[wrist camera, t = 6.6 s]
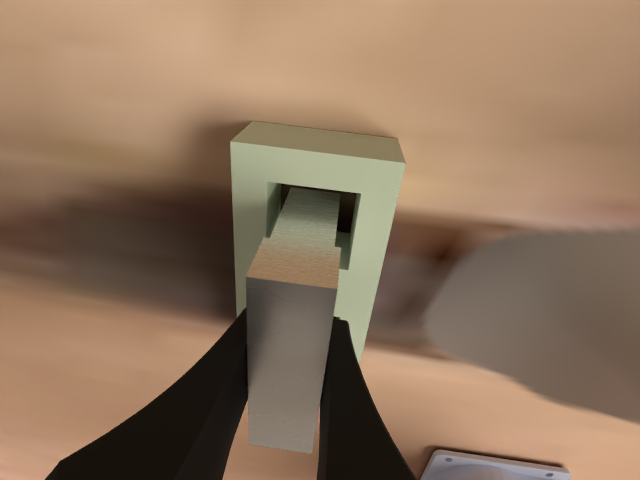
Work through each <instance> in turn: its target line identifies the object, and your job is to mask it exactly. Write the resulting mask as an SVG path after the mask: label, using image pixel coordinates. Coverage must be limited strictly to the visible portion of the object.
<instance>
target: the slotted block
mask: <svg viewBox="0 0 640 480" xmlns="http://www.w3.org/2000/svg"><path fill="white" fill-rule="evenodd" d="M230 151H231V177H232V204H233V230H234V257H235V283H236V310H237V317H238V316H239V315H240V313H241V312H242V311H243V309H244V308H246V275H247V273H248V271H249V268H250V266H251V264H252V262H253V259H254V257H255V255H256V253H257V251H258V248H259V246H260V244H261V242H262V239H263V237H266V238H270V237H271V234H272V232H273V230H274V227H275V225H276V222H277V220H278V218H279V215H280V206H281V183H282V184H289V185H297V186H305V187H313V188H321V189H329V190H337V191H345V192H353V193H356V200H355V206H354V212H353V218H352V224H351V230H350V233H343V232H336V239H335V247H341V255H340V267H339V279H338V290H337V296H336V303H335V309H334V316H335V317H336V319H340V320H347V322H348V323H349V328H350V334H351V339H352V343H353V347H354V351H355V354H356V357H357V361H358V363H359V365H360V360H361V356H362V352H363V347H364V343H365V339H366V334H367V330H368V326H369V321H370V317H371V312H372V308H373V304H374V299H375V295H376V291H377V286H378V282H379V278H380V273H381V269H382V265H383V260H384V256H385V251H386V247H387V243H388V238H389V234H390V230H391V225H392V221H393V217H394V212H395V208H396V204H397V199H398V195H399V190H400V186H401V182H402V177H403V173H404V169H405V164H406V162H405V159H404V156H403V153H402V150H401V147H400V144H399V141H398V139H396V138H388V137H380V136H372V135H363V134H355V133H347V132H339V131H330V130H322V129H314V128H306V127H298V126H289V125H281V124H273V123H265V122H256V121H252V122H251V123H250V124H249V125H248V126H247V127H246V128H244V129H243V130H242V131H241V132H240V133H239V134H238V135H237V136H236V137H234V138H233V139H232V140H231V141H230Z"/></svg>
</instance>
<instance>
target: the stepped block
mask: <svg viewBox="0 0 640 480" xmlns="http://www.w3.org/2000/svg"><path fill="white" fill-rule="evenodd" d="M340 194H341V193H334V192H326V191H318V190H310V189H302V188H295V187H291V189H290V191H289V194H288V196H287V198H286V201H285V203H284V206H283V208H282V210H281V213H280V215H279V218H278V220H277V222H276V225H275V227H274V230H273V232H272V234H271V237H270V238H266V237H263V239H262V242H261V244H260V246H259V248H258V251H257V253H256V255H255V257H254V259H253V262H252V264H251V266H250V268H249V271H248V273H247V275H246V315H247V368H248V421H249V445H256V446H262V447H269V448H275V449H282V450H289V451H295V452H302V453H309V454H312V450H313V444H314V438H315V431H316V425H317V418H318V412H319V405H320V399H321V393H322V386H323V380H324V373H325V367H326V361H327V354H328V348H329V341H330V335H331V329H332V322H333V316H334V309H335V303H336V296H337V290H338V279H339V267H340V255H341V247H335V239H336V230H337V221H338V212H339V203H340Z"/></svg>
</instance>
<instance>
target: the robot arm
mask: <svg viewBox="0 0 640 480" xmlns="http://www.w3.org/2000/svg"><path fill="white" fill-rule="evenodd" d="M247 400H248V368H247V315H246V308H244V309H243V311H242V312H241V313H240V315H239V316H238V317H237V319H236V320H235V321H234V322H233V324H232V325H231V326H230V327H229V328H228V330H227V331H226V332H225V333H224V334H223V335H222V337H221V338H220V339H219V340H218V341H217V342H216V343H215V344H214V345H213V346H212V348H211V349H210V350H209V351H208V352H207V353H206V354H205V355H204V356H203V357H202V358H201V359H200V360H199V361H198V362H197V363H196V364H195V365H194V366H193V367H192V368H191V369H190V370H189V371H187V372H186V373H185V374H184V375H183V376H182V377H181V378H180V379H179V380H177V381H176V382H175V383H174V384H173V385H172V386H170V387H169V388H168V389H167V390H166V391H164V392H163V393H162V394H161V395H159V396H158V397H157V398H156V399H154V400H153V401H152V402H151V403H149V404H148V405H147V406H145V407H144V408H143V409H141V410H140V411H138V412H137V413H136V414H134V415H133V416H131V417H130V418H128V419H127V420H125V421H124V422H123V423H121V424H120V425H118V426H117V427H115V428H114V429H112V430H111V431H109V432H108V433H106V434H105V435H103V436H101V437H100V438H98V439H97V440H95V441H93V442H92V443H90V444H88V445H87V446H85V447H83V448H82V449H80V450H78V451H76V452H75V453H73V454H71V455H70V456H68V457H66V458H65V459H63V460H61V461H60V462H59V463H58V464H57V466H56V467H55V468H54V469H53V471H52V472H51V473H50V474H49V475H48V476H47V478H46V479H45V480H222V478H223V474H224V471H225V467H226V463H227V459H228V456H229V452H230V448H231V445H232V442H233V439H234V436H235V433H236V430H237V427H238V424H239V422H240V419H241V416H242V413H243V411H244V408H245V405H246V402H247ZM570 478H571V474H570V471H569V470H568V469H566V468H561V467H555V466H548V465H541V464H535V463H528V462H521V461H514V460H508V459H501V458H494V457H488V456H481V455H474V454H467V453H461V452H454V451H447V450H436V451H434V452H433V454H432V456H431V458H430V460H429V462H428V465H427V467H426V469H425V471H424V473H423V475H422V477H421V479H420V480H569V479H570ZM317 480H417V479H416V478H415V476H414V474H413V473H412V471H411V470H410V468H409V467H408V465H407V463H406V462H405V460H404V458H403V457H402V455H401V453H400V452H399V450H398V448H397V447H396V445H395V443H394V442H393V440H392V438H391V436H390V434H389V433H388V431H387V429H386V427H385V425H384V423H383V421H382V419H381V417H380V415H379V413H378V411H377V409H376V407H375V404H374V402H373V400H372V398H371V395H370V393H369V390H368V388H367V386H366V383H365V380H364V378H363V375H362V372H361V369H360V366H359V363H358V361H357V357H356V354H355V351H354V347H353V343H352V339H351V334H350V328H349V323H348V322H347V320H340V319H333V322H332V329H331V335H330V341H329V348H328V354H327V361H326V367H325V373H324V380H323V386H322V393H321V399H320V440H319V462H318V471H317Z"/></svg>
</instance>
